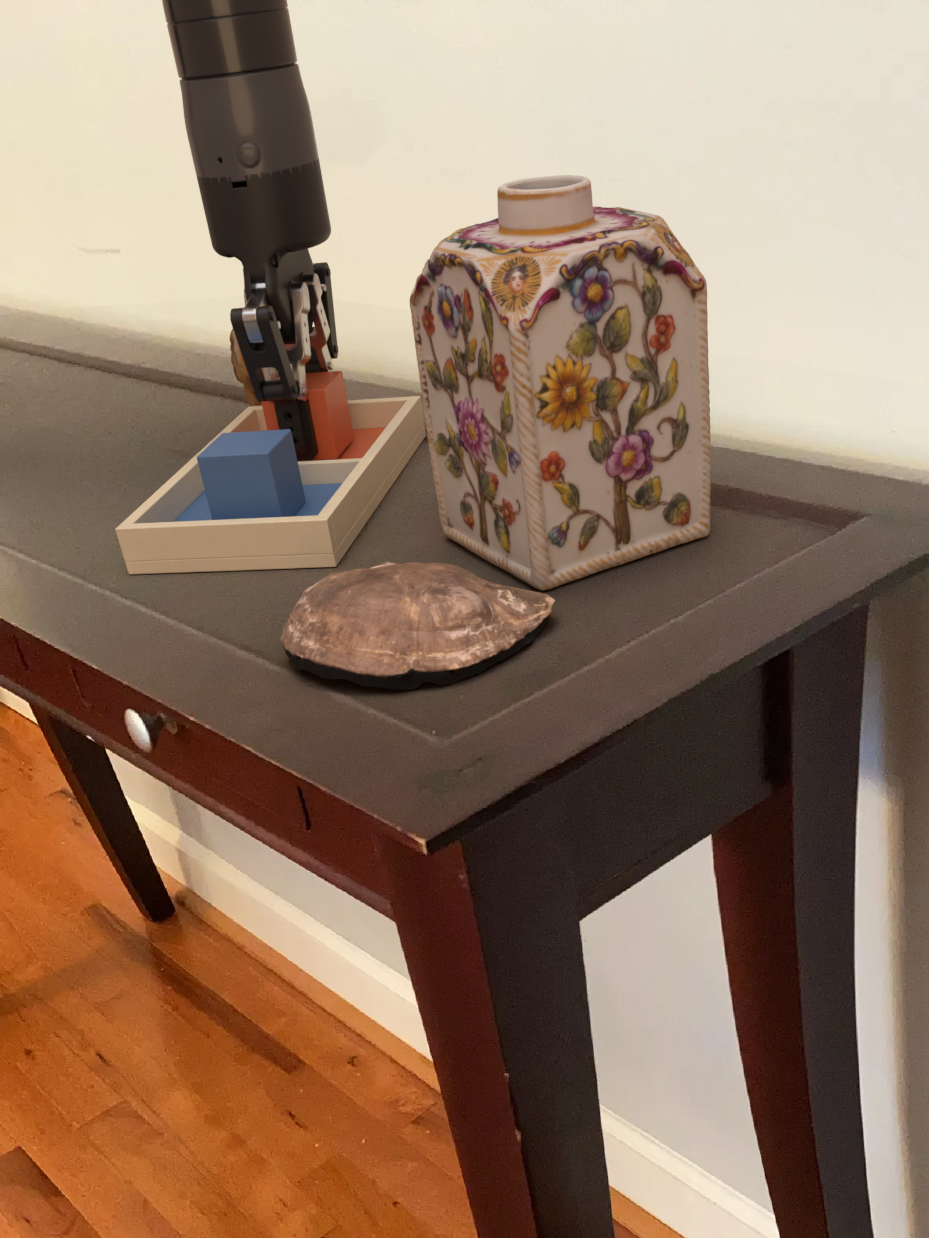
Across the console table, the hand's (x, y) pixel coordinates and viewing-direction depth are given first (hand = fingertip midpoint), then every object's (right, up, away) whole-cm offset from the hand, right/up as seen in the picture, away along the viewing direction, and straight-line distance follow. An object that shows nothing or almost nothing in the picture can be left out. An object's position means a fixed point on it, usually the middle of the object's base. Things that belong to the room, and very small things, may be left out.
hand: (313, 445), depth 88 cm
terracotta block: (0, 0, 0) cm, 0 cm away
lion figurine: (-4, +7, +12) cm, 14 cm away
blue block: (-2, -8, -9) cm, 12 cm away
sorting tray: (-1, -5, -4) cm, 6 cm away
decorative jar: (+17, -11, -14) cm, 25 cm away
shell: (+9, -19, -23) cm, 31 cm away
